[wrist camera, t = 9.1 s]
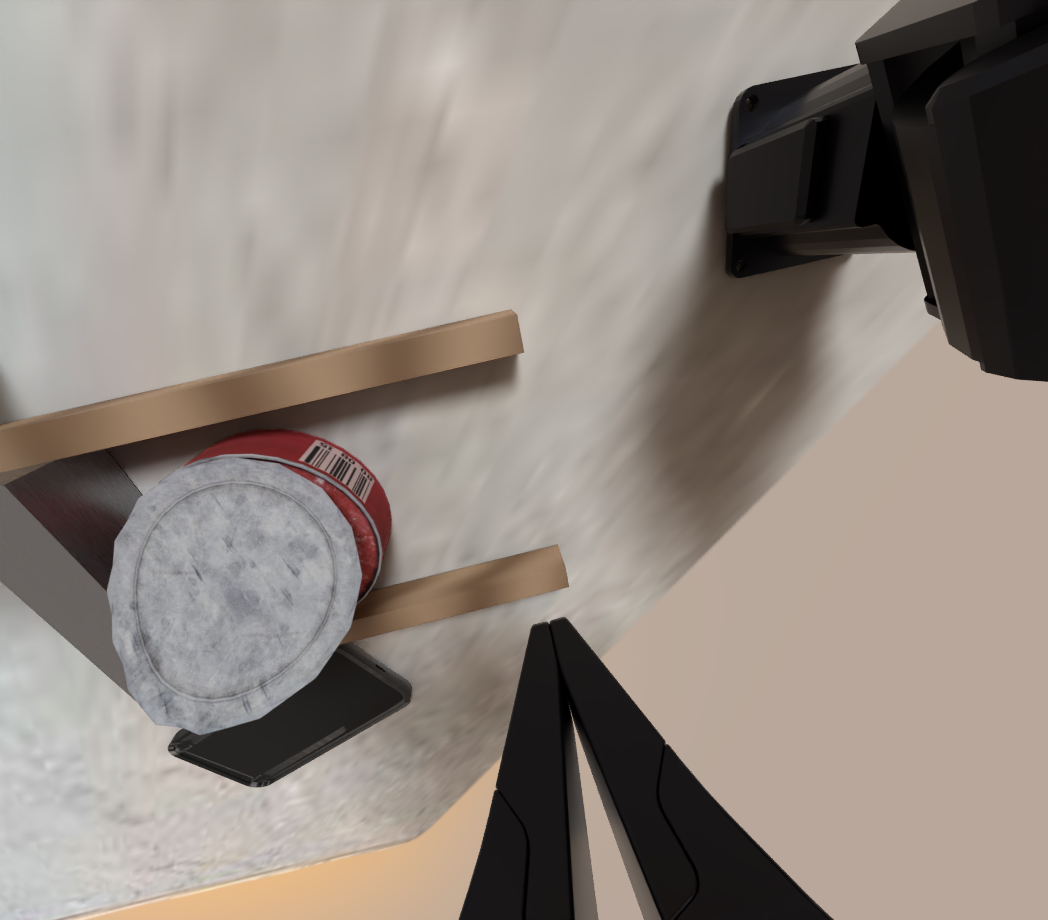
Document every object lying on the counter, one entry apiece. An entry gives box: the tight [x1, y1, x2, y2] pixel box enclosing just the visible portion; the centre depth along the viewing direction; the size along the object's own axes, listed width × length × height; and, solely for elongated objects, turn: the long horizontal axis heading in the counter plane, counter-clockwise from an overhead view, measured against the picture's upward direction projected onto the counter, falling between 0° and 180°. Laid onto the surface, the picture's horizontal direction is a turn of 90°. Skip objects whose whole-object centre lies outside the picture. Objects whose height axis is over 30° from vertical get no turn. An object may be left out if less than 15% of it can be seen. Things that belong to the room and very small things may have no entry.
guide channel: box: [0, 310, 569, 645], centre depth 19 cm, size 22×15×2 cm
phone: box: [168, 642, 412, 787], centre depth 27 cm, size 8×1×15 cm
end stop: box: [0, 449, 142, 702], centre depth 18 cm, size 3×12×4 cm, turn 11°
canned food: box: [107, 429, 392, 735], centre depth 18 cm, size 11×10×10 cm
